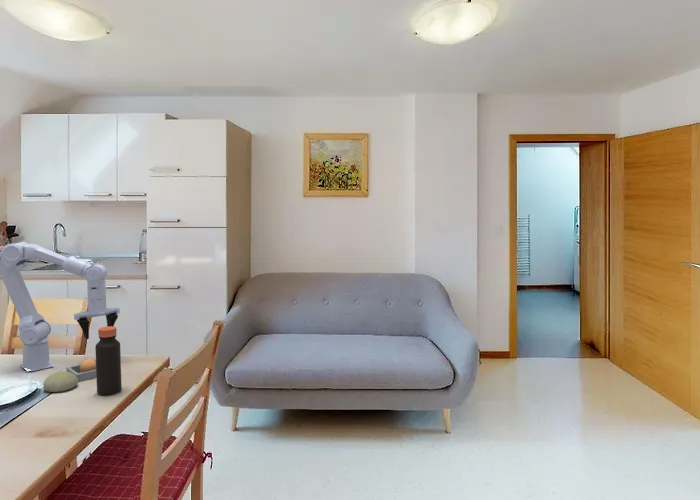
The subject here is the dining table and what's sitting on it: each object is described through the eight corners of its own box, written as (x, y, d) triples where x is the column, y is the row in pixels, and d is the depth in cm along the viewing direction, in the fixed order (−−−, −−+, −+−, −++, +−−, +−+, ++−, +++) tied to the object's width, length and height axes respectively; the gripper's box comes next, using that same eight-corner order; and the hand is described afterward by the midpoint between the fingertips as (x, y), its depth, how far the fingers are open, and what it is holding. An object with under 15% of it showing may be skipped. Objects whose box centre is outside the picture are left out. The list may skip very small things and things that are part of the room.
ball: (78, 373, 158) (77, 359, 158) (94, 369, 162) (93, 355, 161) (83, 378, 155) (82, 363, 154) (99, 373, 159) (98, 359, 158)
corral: (66, 374, 158) (66, 367, 158) (100, 366, 166) (99, 359, 165) (76, 382, 151) (76, 374, 151) (111, 373, 159) (110, 366, 159)
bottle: (110, 385, 149) (108, 324, 147) (126, 389, 147) (124, 326, 145) (91, 393, 143) (89, 329, 141) (108, 397, 140) (106, 332, 138)
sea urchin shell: (64, 389, 141) (47, 369, 142) (49, 405, 143) (32, 385, 143) (87, 378, 150) (71, 359, 151) (72, 393, 152) (57, 375, 152)
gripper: (78, 303, 158) (80, 342, 159) (122, 297, 168) (123, 334, 170) (71, 300, 162) (72, 338, 164) (114, 294, 173) (115, 330, 174)
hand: (98, 336), depth 167 cm, fingers open, 7 cm apart
